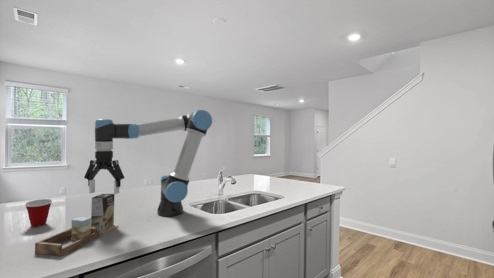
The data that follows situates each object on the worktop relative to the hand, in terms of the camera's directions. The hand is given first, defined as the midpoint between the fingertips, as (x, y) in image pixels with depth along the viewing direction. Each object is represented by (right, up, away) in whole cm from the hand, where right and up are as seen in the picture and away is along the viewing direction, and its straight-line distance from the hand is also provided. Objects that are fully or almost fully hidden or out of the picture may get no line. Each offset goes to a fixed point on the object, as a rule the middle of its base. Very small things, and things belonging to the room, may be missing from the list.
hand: (104, 193), depth 114 cm
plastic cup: (-36, -17, +4) cm, 41 cm away
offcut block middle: (-3, -15, -11) cm, 19 cm away
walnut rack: (-4, -18, -17) cm, 25 cm away
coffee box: (-1, -17, 0) cm, 17 cm away
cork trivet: (-1, -18, 0) cm, 18 cm away
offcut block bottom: (-3, -18, -11) cm, 21 cm away
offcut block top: (-3, -12, -11) cm, 17 cm away
